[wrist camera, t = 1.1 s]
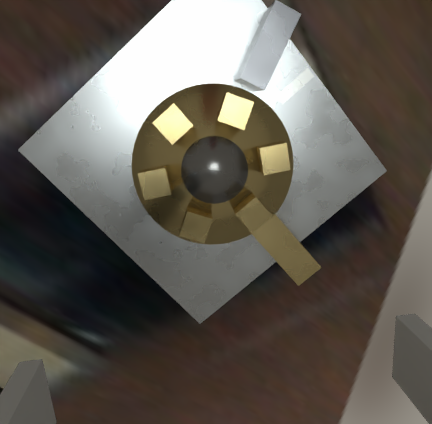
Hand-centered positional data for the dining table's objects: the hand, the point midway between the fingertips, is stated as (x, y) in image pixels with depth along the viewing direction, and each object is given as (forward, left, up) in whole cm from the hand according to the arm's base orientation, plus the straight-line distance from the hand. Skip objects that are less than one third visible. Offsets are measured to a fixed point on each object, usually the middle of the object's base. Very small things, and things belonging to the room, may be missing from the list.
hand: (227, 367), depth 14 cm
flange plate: (+4, +3, -19) cm, 20 cm away
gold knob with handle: (+4, +1, -17) cm, 17 cm away
